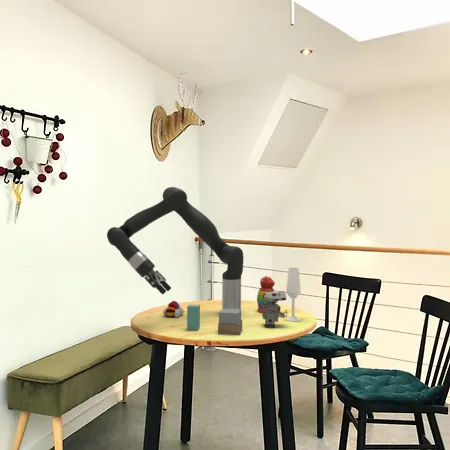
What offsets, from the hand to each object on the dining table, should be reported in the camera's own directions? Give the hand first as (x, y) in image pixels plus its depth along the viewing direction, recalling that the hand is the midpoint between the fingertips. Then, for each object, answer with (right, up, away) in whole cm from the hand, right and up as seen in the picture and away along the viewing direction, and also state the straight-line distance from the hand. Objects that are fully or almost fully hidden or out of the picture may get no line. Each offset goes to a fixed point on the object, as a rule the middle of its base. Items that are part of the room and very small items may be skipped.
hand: (167, 291), depth 204 cm
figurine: (+47, -16, +6) cm, 50 cm away
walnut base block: (+27, -16, -5) cm, 32 cm away
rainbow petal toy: (0, -16, +25) cm, 29 cm away
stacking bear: (+46, -16, +36) cm, 61 cm away
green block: (+11, -16, -1) cm, 20 cm away
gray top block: (+27, -12, -6) cm, 30 cm away
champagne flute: (+56, -16, +19) cm, 62 cm away
